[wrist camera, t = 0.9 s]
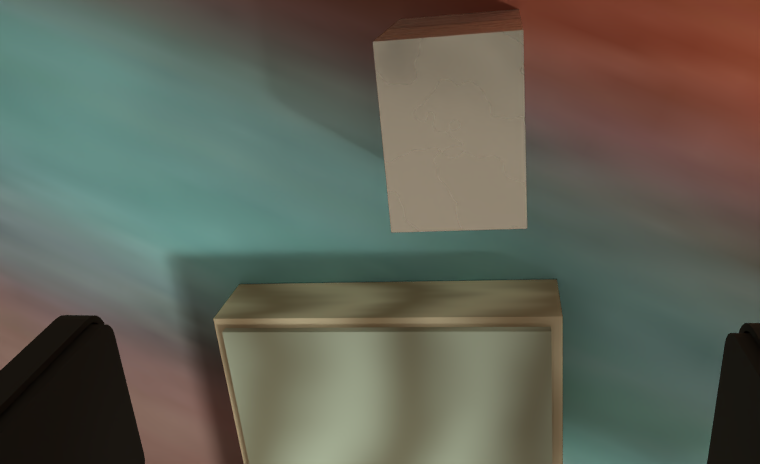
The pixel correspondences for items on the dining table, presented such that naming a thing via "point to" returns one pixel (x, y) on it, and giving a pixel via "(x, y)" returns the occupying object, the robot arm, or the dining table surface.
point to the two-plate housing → (453, 121)
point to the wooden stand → (395, 372)
